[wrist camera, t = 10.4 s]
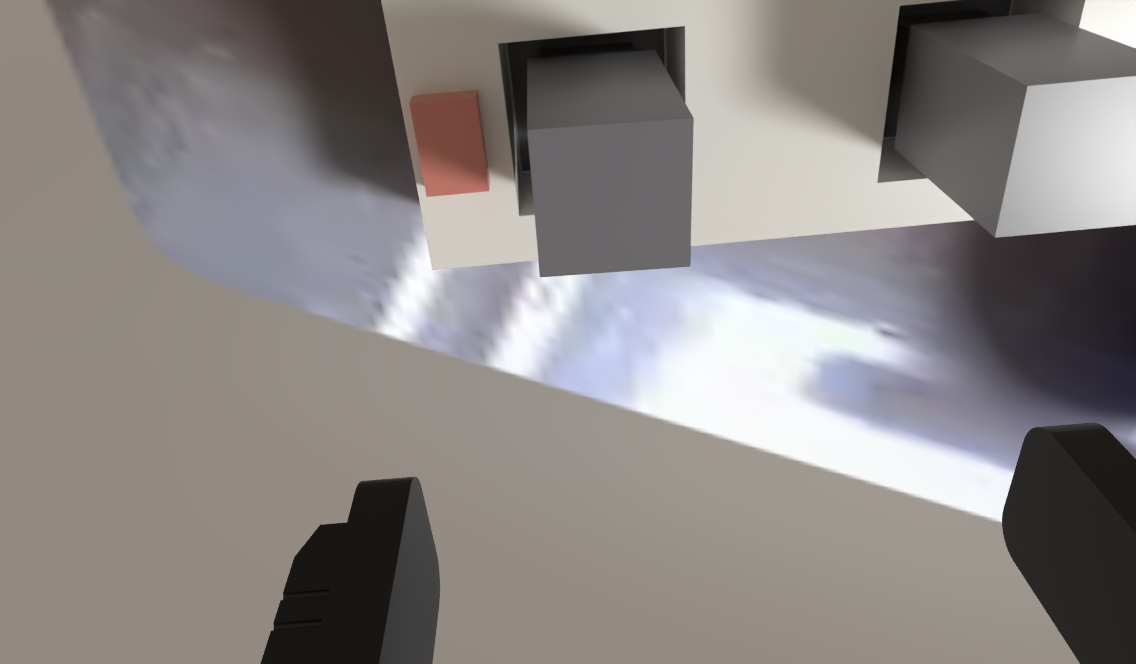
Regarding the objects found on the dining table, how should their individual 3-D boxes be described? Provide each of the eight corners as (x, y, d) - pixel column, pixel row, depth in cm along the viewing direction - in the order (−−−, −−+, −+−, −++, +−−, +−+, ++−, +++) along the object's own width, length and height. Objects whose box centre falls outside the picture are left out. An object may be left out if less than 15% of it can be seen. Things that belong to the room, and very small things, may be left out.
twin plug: (875, 6, 28) (1027, 86, 19) (992, -5, 28) (1195, 70, 19) (863, 121, 30) (994, 237, 22) (971, 111, 30) (1145, 223, 22)
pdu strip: (402, -33, 28) (375, -2, 23) (1109, -100, 28) (1236, -84, 23) (445, 211, 32) (430, 280, 28) (1048, 155, 32) (1141, 215, 27)
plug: (527, 37, 28) (527, 129, 20) (643, 29, 28) (693, 118, 20) (536, 149, 30) (540, 277, 22) (644, 142, 30) (690, 266, 22)
